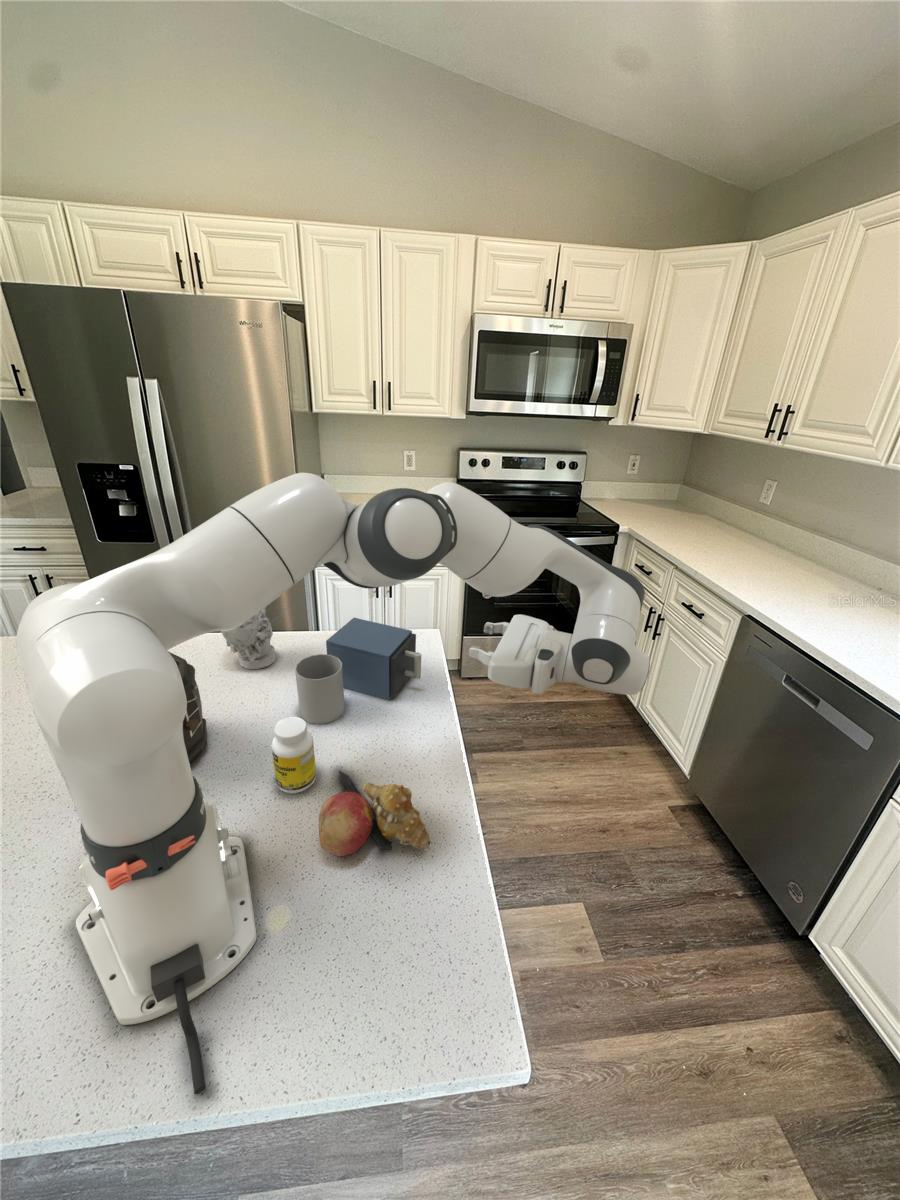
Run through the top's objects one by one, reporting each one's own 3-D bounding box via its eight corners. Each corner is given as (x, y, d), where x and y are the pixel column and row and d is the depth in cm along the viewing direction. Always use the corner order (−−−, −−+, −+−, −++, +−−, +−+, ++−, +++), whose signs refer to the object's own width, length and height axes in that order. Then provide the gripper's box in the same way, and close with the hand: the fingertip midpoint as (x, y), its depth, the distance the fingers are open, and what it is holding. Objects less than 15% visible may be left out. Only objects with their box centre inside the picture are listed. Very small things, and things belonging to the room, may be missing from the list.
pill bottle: (268, 785, 77) (259, 731, 73) (296, 760, 82) (289, 708, 78) (297, 801, 75) (290, 746, 70) (324, 774, 80) (320, 721, 75)
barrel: (163, 807, 73) (139, 724, 66) (61, 784, 76) (27, 702, 69) (234, 728, 89) (221, 655, 82) (148, 712, 92) (127, 639, 85)
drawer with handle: (429, 673, 106) (431, 637, 102) (409, 701, 97) (410, 663, 93) (360, 656, 111) (359, 621, 107) (335, 681, 102) (332, 643, 98)
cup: (349, 698, 98) (347, 656, 94) (337, 725, 91) (334, 681, 86) (308, 694, 99) (304, 652, 94) (293, 721, 91) (287, 676, 87)
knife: (399, 843, 68) (380, 852, 66) (398, 848, 68) (379, 856, 67) (346, 765, 81) (329, 770, 80) (346, 769, 82) (329, 774, 80)
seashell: (379, 839, 74) (441, 837, 72) (354, 859, 67) (422, 858, 64) (374, 776, 76) (434, 772, 73) (349, 788, 68) (415, 784, 66)
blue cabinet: (411, 672, 108) (412, 630, 103) (389, 700, 98) (388, 656, 94) (355, 657, 112) (353, 617, 107) (329, 683, 102) (325, 640, 98)
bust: (291, 662, 106) (267, 601, 101) (241, 683, 102) (214, 620, 96) (282, 648, 115) (259, 591, 110) (236, 666, 111) (211, 608, 106)
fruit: (336, 772, 68) (345, 820, 62) (377, 787, 73) (389, 833, 66) (302, 808, 70) (307, 859, 63) (344, 821, 74) (353, 870, 67)
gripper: (561, 614, 95) (493, 601, 99) (543, 668, 78) (461, 650, 82) (557, 642, 98) (491, 628, 102) (538, 700, 81) (459, 681, 84)
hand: (477, 638), depth 92 cm, fingers open, 8 cm apart
